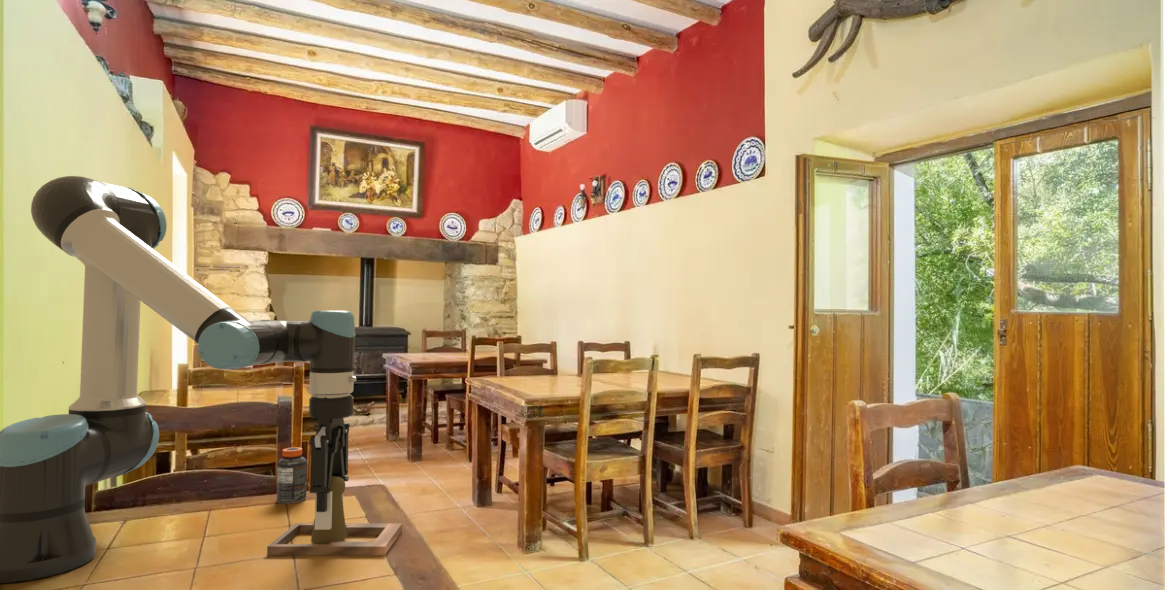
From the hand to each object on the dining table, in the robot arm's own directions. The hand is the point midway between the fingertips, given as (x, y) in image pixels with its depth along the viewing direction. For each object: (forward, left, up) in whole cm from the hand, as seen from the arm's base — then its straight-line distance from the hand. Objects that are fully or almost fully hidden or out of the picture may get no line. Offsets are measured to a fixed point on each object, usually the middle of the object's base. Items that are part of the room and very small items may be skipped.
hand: (329, 523), depth 116 cm
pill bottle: (-17, +26, -4) cm, 31 cm away
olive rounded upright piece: (0, 0, -3) cm, 3 cm away
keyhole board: (+2, 0, -3) cm, 4 cm away
